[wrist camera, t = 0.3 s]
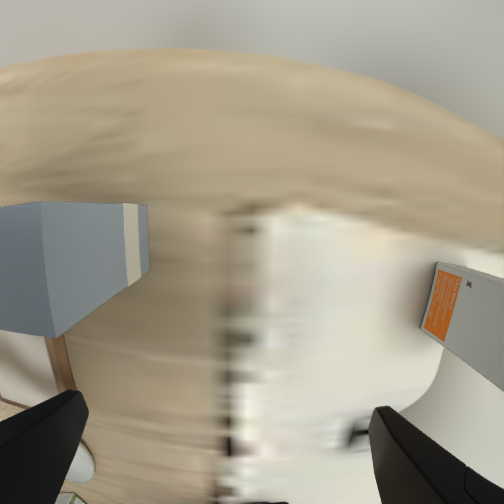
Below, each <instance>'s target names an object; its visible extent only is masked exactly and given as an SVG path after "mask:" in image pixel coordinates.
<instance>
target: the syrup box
mask: <svg viewBox="0 0 504 504" xmlns="http://www.w3.org/2000/svg"><path fill="white" fill-rule="evenodd" d="M55 504H86V503H85V502H84V501H83V500H82V499H80V498H79V497H78V496H77V495H76V494H75V493H59V495H58V497H57V500H56V502H55Z"/></svg>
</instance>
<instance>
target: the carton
mask: <svg viewBox="0 0 504 504" xmlns="http://www.w3.org/2000/svg"><path fill="white" fill-rule="evenodd" d="M148 271H150V259H149V241H148V211H147V205H138V204H131V203H119V204H109V203H82V202H33V203H26V204H19V205H12V206H5V207H0V330H4V331H9V332H15V333H22V334H28V335H35V336H42V337H50V338H58V337H59V336H60V335H61V334H63V333H64V332H65V331H67V330H68V329H69V328H71V327H72V326H73V325H75V324H76V323H77V322H79V321H80V320H81V319H83V318H84V317H85V316H87V315H88V314H90V313H91V312H92V311H94V310H95V309H96V308H98V307H99V306H100V305H102V304H103V303H105V302H106V301H107V300H109V299H110V298H111V297H113V296H114V295H116V294H117V293H118V292H120V291H121V290H123V289H124V288H125V287H129V286H130V285H132V284H133V283H134V282H136V281H137V280H139V279H140V278H141V276H142V275H144V274H145V273H147V272H148Z"/></svg>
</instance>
